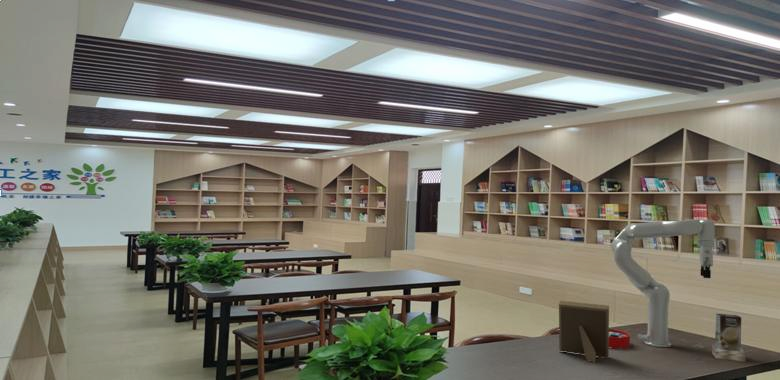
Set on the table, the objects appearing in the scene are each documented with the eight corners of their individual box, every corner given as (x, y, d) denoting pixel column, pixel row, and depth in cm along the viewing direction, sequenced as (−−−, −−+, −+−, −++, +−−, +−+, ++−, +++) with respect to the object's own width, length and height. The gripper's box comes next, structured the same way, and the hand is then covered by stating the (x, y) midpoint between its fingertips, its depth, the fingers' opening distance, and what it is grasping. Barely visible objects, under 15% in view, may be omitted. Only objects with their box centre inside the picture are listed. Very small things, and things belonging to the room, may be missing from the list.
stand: (715, 358, 251) (715, 349, 251) (712, 352, 261) (712, 344, 261) (745, 361, 246) (745, 353, 247) (740, 356, 257) (740, 347, 257)
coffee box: (719, 349, 252) (720, 315, 253) (714, 346, 258) (715, 313, 259) (741, 351, 250) (741, 317, 251) (735, 347, 256) (736, 314, 257)
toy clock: (587, 326, 286) (626, 330, 280) (586, 337, 286) (626, 341, 280) (589, 335, 267) (632, 339, 261) (589, 346, 267) (632, 351, 261)
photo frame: (560, 350, 257) (561, 298, 258) (608, 356, 248) (609, 303, 249) (556, 357, 244) (557, 303, 244) (607, 365, 235) (608, 309, 235)
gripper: (717, 245, 263) (716, 279, 262) (711, 243, 279) (711, 275, 278) (699, 244, 266) (699, 278, 265) (695, 242, 282) (694, 274, 281)
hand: (705, 277), depth 272 cm, fingers open, 9 cm apart
